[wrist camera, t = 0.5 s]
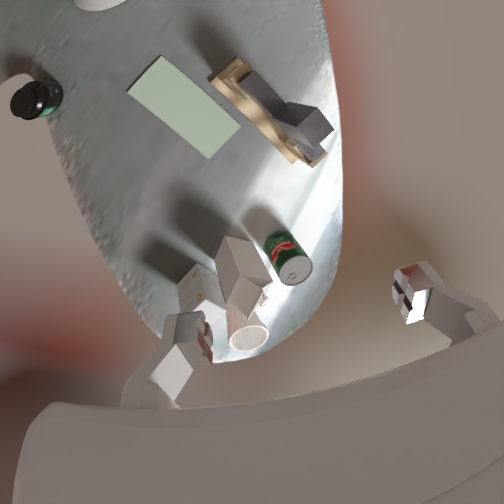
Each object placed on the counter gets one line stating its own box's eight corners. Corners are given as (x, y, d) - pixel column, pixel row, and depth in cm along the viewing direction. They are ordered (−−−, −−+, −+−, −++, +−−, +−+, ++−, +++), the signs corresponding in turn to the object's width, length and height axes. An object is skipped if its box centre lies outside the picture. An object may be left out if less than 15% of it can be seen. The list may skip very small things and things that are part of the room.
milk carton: (213, 260, 66) (230, 318, 51) (224, 234, 63) (245, 289, 48) (241, 265, 69) (264, 322, 54) (252, 241, 66) (280, 294, 51)
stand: (209, 82, 44) (217, 81, 37) (236, 58, 43) (250, 52, 35) (290, 163, 58) (310, 177, 50) (313, 141, 56) (336, 152, 49)
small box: (196, 295, 70) (203, 333, 60) (176, 284, 67) (180, 322, 56) (217, 274, 68) (228, 311, 58) (197, 261, 65) (204, 299, 55)
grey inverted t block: (233, 85, 39) (256, 84, 29) (251, 69, 38) (280, 64, 28) (304, 160, 50) (341, 184, 39) (319, 146, 49) (359, 166, 38)
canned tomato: (273, 226, 65) (291, 251, 57) (299, 235, 69) (319, 261, 60) (258, 253, 68) (272, 282, 60) (284, 261, 72) (301, 288, 63)
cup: (215, 293, 72) (225, 330, 61) (253, 284, 73) (268, 320, 63) (220, 319, 77) (230, 355, 67) (255, 311, 79) (269, 346, 69)
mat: (127, 92, 41) (127, 92, 41) (161, 56, 39) (161, 55, 39) (208, 158, 53) (208, 159, 52) (240, 125, 51) (241, 126, 50)
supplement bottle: (64, 110, 38) (39, 118, 29) (35, 117, 37) (6, 127, 27) (64, 77, 35) (38, 76, 25) (35, 85, 33) (5, 88, 23)
